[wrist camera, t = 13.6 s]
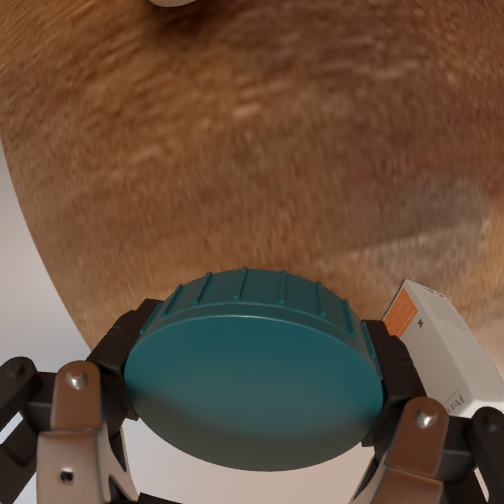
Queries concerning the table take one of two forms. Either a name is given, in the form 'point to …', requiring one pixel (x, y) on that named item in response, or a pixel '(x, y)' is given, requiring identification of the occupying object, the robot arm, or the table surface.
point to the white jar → (170, 2)
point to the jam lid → (256, 372)
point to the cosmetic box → (444, 351)
